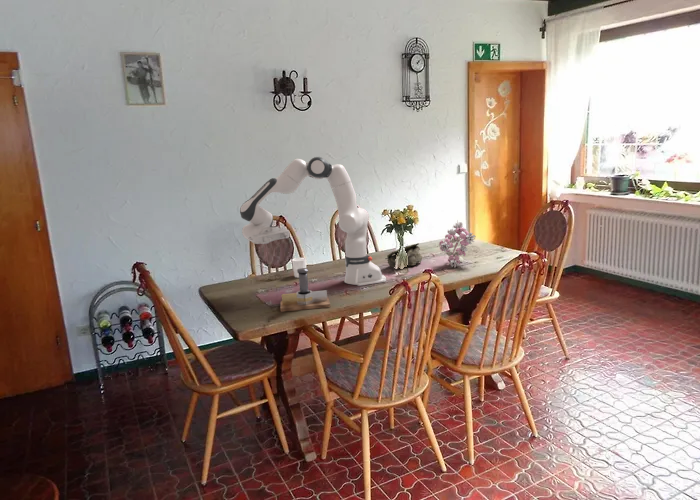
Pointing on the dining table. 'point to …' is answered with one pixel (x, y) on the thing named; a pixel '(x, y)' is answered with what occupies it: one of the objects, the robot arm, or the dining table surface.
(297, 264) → the white cup
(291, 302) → the hinge leaves
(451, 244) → the flower
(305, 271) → the hinge pin
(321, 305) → the hinge base
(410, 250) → the hollow geode rock
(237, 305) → the dining table surface
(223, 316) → the dining table surface
